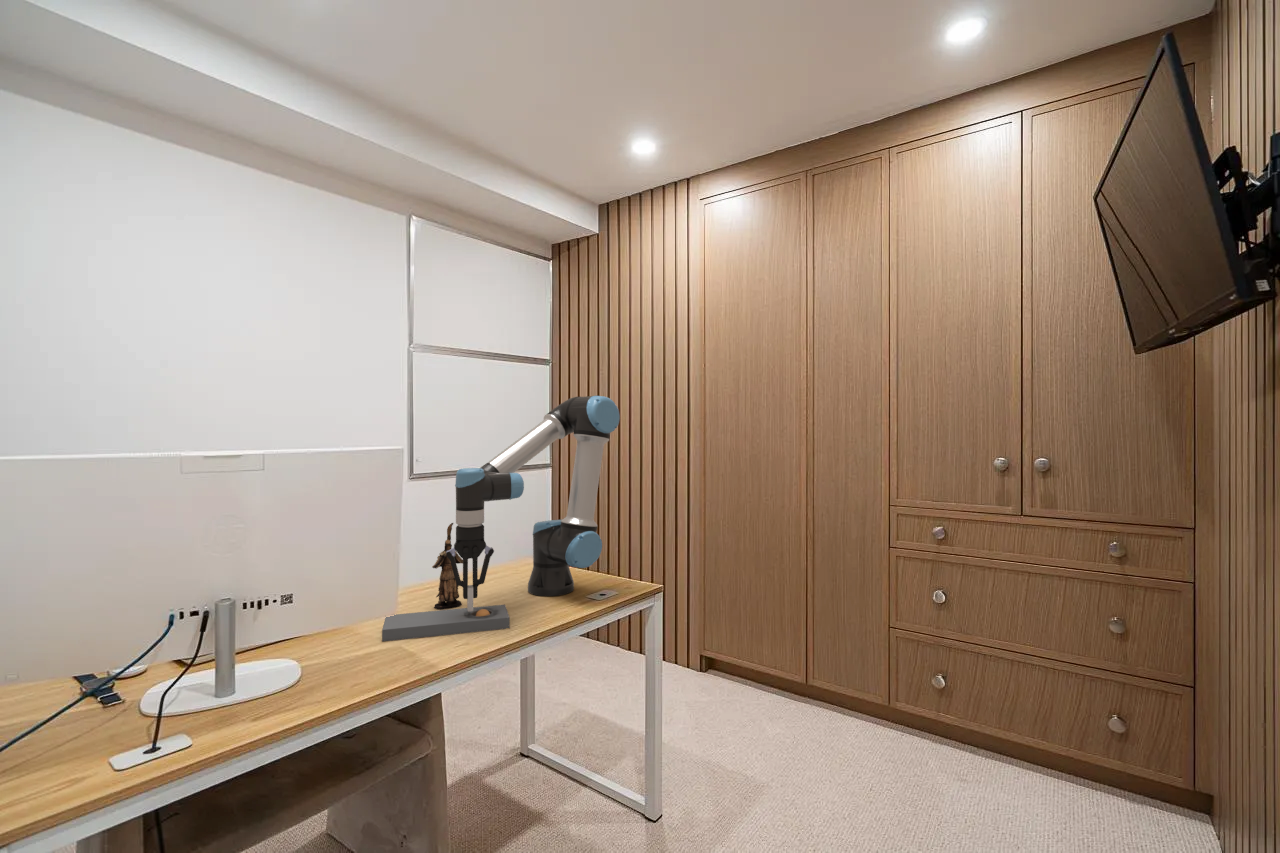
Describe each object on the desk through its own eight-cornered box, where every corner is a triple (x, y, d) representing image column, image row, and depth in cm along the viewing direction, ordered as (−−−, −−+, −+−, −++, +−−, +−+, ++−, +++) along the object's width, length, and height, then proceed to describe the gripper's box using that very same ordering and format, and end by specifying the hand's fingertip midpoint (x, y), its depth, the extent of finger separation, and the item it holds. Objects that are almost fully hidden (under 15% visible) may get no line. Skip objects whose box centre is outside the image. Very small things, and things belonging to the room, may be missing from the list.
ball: (485, 623, 172) (492, 610, 173) (487, 628, 168) (493, 614, 169) (472, 618, 171) (478, 605, 171) (473, 623, 167) (479, 609, 168)
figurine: (466, 604, 187) (466, 523, 186) (438, 612, 179) (438, 527, 179) (454, 600, 191) (454, 520, 190) (426, 608, 183) (426, 525, 183)
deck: (505, 614, 178) (505, 604, 178) (509, 628, 166) (509, 617, 166) (386, 626, 168) (386, 615, 168) (382, 641, 156) (382, 629, 156)
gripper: (493, 521, 174) (493, 603, 174) (445, 523, 170) (445, 608, 170) (495, 525, 167) (495, 611, 167) (445, 528, 163) (445, 616, 163)
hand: (470, 609), depth 169 cm, fingers closed
